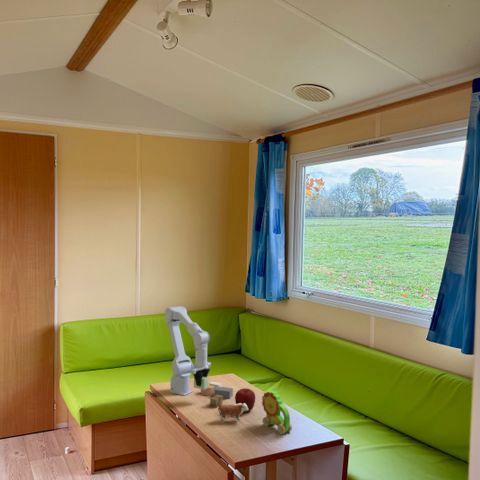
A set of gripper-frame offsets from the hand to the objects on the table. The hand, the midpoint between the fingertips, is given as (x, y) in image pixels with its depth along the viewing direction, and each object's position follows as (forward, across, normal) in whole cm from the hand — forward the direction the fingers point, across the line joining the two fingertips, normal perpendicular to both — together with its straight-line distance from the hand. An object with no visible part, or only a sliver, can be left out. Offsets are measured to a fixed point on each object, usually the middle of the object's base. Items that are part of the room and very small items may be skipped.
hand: (200, 384), depth 241 cm
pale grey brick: (+9, +17, +2) cm, 19 cm away
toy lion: (+9, -9, -44) cm, 46 cm away
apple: (+9, +1, -24) cm, 26 cm away
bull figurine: (+9, -12, -25) cm, 29 cm away
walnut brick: (+9, 0, -9) cm, 12 cm away
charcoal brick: (+9, +12, -6) cm, 16 cm away
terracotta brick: (+9, +11, +3) cm, 14 cm away
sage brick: (+2, 0, 0) cm, 2 cm away
